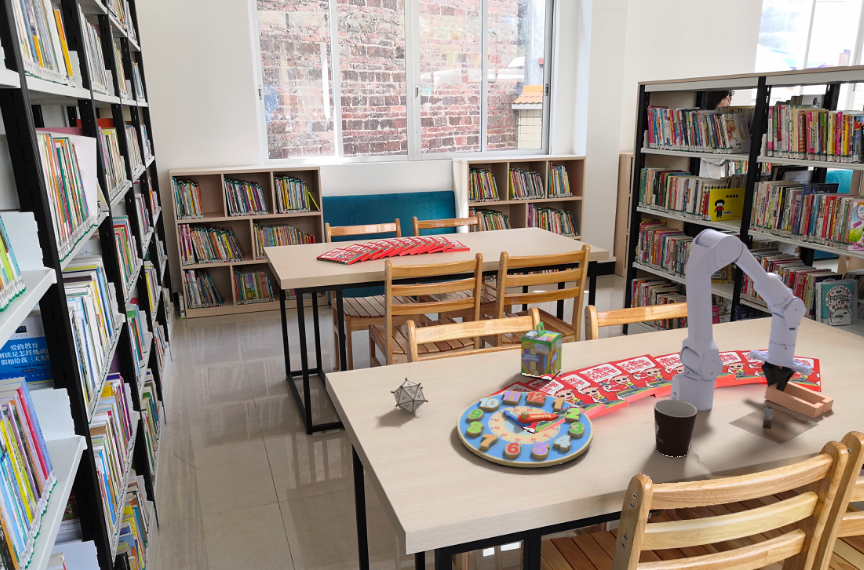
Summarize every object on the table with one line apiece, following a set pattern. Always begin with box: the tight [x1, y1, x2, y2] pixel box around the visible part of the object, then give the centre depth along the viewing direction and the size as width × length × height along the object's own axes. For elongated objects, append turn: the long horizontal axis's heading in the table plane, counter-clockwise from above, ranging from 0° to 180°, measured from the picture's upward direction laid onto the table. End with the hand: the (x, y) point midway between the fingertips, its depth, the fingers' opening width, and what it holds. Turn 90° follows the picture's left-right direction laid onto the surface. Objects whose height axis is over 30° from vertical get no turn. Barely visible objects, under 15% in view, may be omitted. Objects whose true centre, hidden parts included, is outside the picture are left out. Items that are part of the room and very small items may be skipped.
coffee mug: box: [653, 398, 698, 458], centre depth 136 cm, size 12×9×10 cm
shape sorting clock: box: [456, 390, 594, 468], centre depth 143 cm, size 31×30×6 cm
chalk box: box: [520, 321, 563, 376], centre depth 177 cm, size 9×9×15 cm
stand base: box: [729, 405, 819, 445], centre depth 145 cm, size 16×12×1 cm
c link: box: [764, 380, 835, 419], centre depth 153 cm, size 12×8×3 cm, turn 33°
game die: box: [390, 377, 429, 414], centre depth 156 cm, size 9×8×10 cm
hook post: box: [763, 406, 774, 429], centre depth 143 cm, size 2×2×4 cm
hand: (775, 392), depth 158 cm, fingers closed on c link
